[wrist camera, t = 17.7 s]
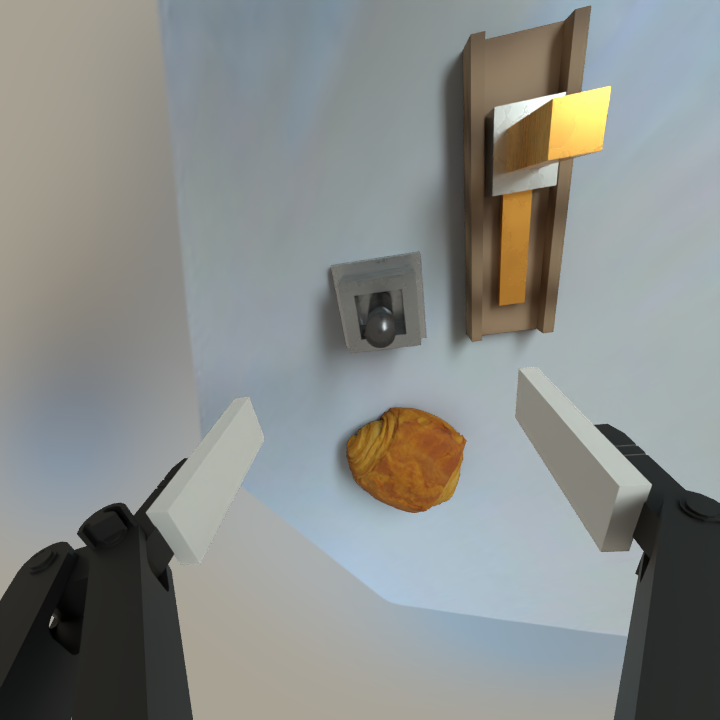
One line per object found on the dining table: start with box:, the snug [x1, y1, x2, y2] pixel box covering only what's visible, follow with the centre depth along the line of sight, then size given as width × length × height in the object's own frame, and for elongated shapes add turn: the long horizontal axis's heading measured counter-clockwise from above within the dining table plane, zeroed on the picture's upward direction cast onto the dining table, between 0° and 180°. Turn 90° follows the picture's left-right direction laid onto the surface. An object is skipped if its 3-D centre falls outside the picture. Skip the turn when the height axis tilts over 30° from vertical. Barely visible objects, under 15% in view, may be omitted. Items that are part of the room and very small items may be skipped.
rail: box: [463, 6, 591, 342], centre depth 28 cm, size 24×8×2 cm, turn 9°
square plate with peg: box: [331, 251, 427, 348], centre depth 29 cm, size 9×9×10 cm
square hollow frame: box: [338, 265, 421, 353], centre depth 31 cm, size 7×7×4 cm
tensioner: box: [485, 86, 611, 306], centre depth 24 cm, size 16×5×9 cm, turn 9°
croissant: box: [347, 408, 466, 513], centre depth 39 cm, size 14×16×8 cm
